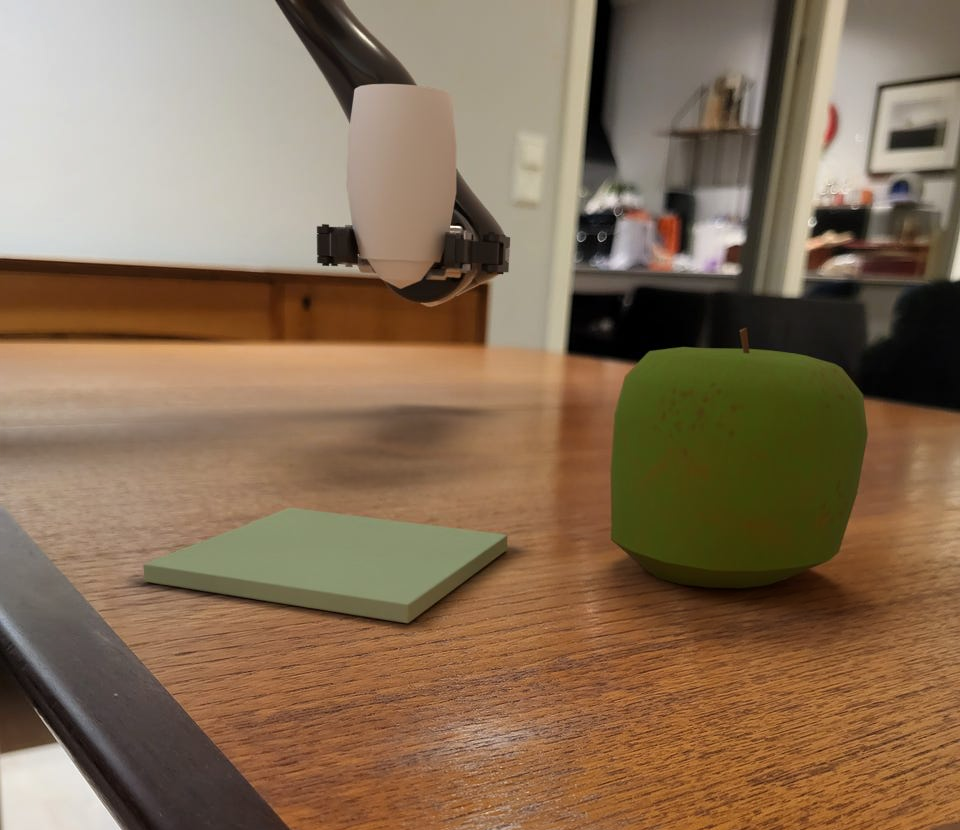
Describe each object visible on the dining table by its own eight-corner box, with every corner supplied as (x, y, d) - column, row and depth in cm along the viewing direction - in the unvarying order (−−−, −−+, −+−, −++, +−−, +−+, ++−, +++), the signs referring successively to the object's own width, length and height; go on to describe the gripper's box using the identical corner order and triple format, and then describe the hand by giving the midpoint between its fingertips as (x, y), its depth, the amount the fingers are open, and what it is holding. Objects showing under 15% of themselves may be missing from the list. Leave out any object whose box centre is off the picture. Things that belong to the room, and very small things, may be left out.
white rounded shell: (351, 429, 67) (351, 78, 60) (342, 413, 73) (341, 96, 66) (457, 430, 68) (470, 88, 61) (440, 415, 75) (449, 104, 68)
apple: (810, 627, 39) (857, 340, 36) (562, 579, 44) (580, 322, 40) (860, 565, 49) (901, 331, 45) (649, 531, 53) (671, 317, 50)
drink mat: (143, 582, 42) (142, 563, 41) (289, 522, 52) (289, 507, 52) (408, 624, 38) (408, 604, 38) (507, 550, 49) (508, 534, 48)
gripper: (341, 197, 79) (285, 179, 64) (521, 205, 79) (509, 188, 63) (341, 297, 82) (287, 302, 66) (516, 306, 81) (503, 314, 66)
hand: (396, 247), depth 65 cm, fingers closed on white rounded shell, 6 cm apart
